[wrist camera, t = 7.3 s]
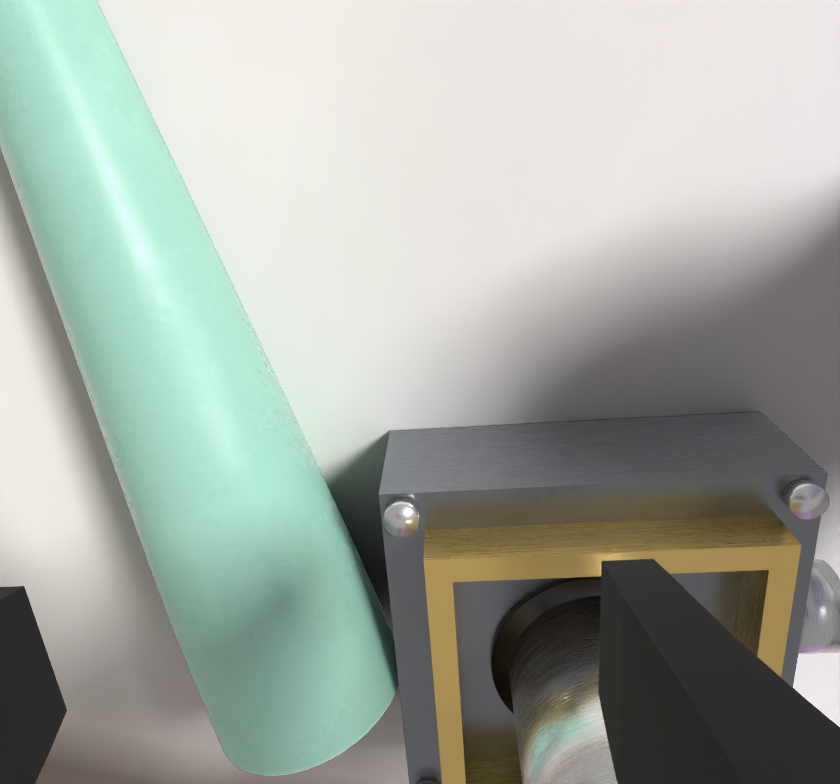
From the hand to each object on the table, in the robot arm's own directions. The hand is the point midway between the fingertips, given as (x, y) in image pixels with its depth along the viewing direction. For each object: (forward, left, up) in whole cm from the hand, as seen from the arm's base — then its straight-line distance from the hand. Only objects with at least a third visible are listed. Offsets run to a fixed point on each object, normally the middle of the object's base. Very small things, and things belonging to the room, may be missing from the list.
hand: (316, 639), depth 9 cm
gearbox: (-5, +7, -10) cm, 13 cm away
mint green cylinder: (+6, -4, -11) cm, 13 cm away
